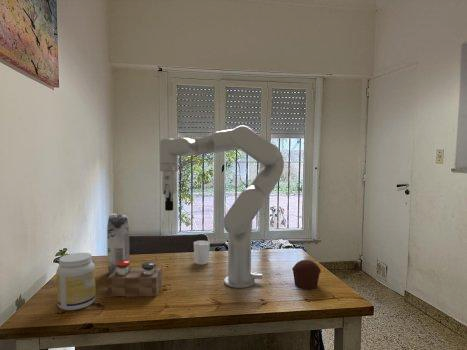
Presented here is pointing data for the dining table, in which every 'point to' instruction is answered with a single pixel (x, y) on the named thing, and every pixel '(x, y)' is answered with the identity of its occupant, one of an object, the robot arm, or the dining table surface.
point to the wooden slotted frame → (134, 283)
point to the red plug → (122, 267)
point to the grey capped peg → (148, 267)
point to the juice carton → (117, 240)
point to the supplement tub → (75, 281)
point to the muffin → (306, 274)
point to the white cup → (201, 252)
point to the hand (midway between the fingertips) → (169, 210)
